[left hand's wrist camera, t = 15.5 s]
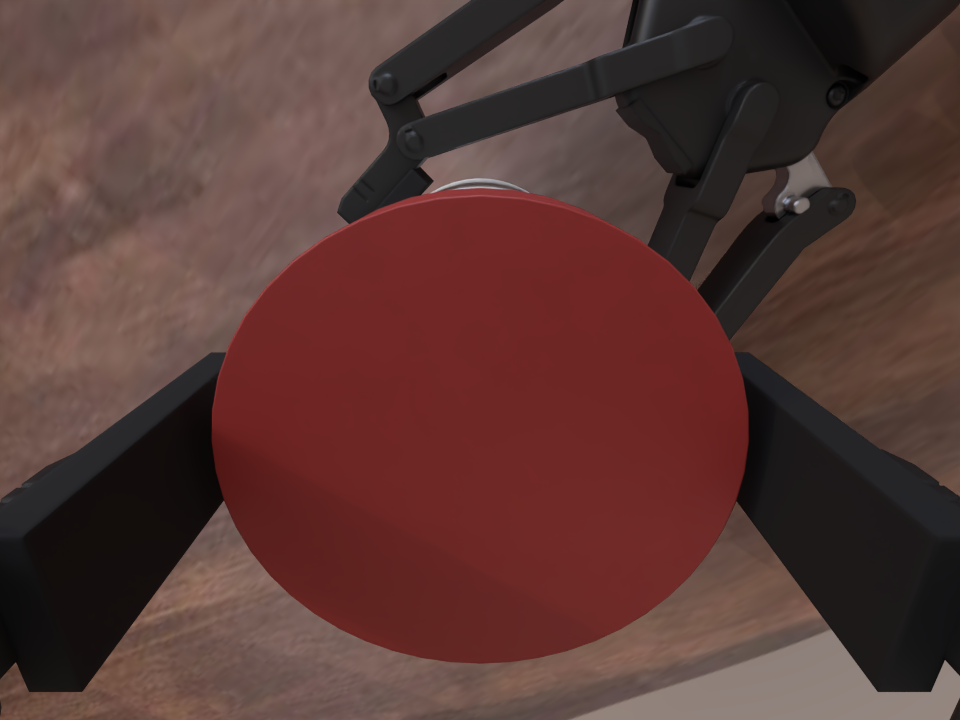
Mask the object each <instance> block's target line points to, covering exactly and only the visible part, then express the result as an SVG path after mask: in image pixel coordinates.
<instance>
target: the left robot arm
mask: <svg viewBox="0 0 960 720" xmlns="http://www.w3.org/2000/svg"><path fill="white" fill-rule="evenodd" d="M225 355H226V353H210V354H209V355H207V356H206V357H205V358H203V359H202V360H200V361H199V362H198V363H196V364H195V365H194V366H192V367H191V368H190V369H188V370H187V371H186V372H184V373H183V374H182V375H180V376H179V377H177V378H176V379H175V380H173V381H172V382H171V383H169V384H168V385H167V386H165V387H164V388H163V389H161V390H160V391H158V392H157V393H156V394H154V395H153V396H152V397H150V398H149V399H148V400H146V401H145V402H144V403H142V404H141V405H140V406H138V407H137V408H135V409H134V410H133V411H131V412H130V413H129V414H127V415H126V416H125V417H123V418H122V419H121V420H119V421H118V422H117V423H115V424H114V425H112V426H111V427H110V428H108V429H107V430H106V431H104V432H103V433H102V434H100V435H99V436H98V437H96V438H95V439H93V440H92V441H91V442H89V443H88V444H87V445H85V446H84V447H83V448H81V449H80V450H79V451H77V452H76V453H74V454H72V455H70V456H68V457H65V458H63V459H61V460H59V461H57V462H55V463H53V464H51V465H48V466H46V467H45V468H44V469H42V470H41V471H39V472H38V473H37V474H35V475H34V476H32V477H31V478H30V479H28V480H27V481H26V482H24V483H23V484H22V487H21V488H16V489H14V490H13V491H12V492H10V493H9V494H7V495H6V496H5V497H3V498H2V499H1V502H0V679H1V678H2V677H3V675H4V674H5V673H6V672H7V671H8V670H9V669H10V668H11V667H12V666H13V664H14V663H15V662H16V663H17V665H18V667H19V670H20V672H21V674H22V677H23V679H24V681H25V684H26V686H27V688H28V690H29V692H82V691H83V690H84V689H85V687H86V686H87V685H88V683H89V682H90V681H91V679H92V678H93V677H94V675H95V674H96V672H97V671H98V670H99V668H100V667H101V666H102V664H103V663H104V662H105V660H106V659H107V658H108V656H109V655H110V654H111V652H112V651H113V649H114V648H115V647H116V645H117V644H118V643H119V641H120V640H121V639H122V637H123V636H124V635H125V633H126V632H127V631H128V629H129V628H130V626H131V625H132V624H133V622H134V621H135V620H136V618H137V617H138V616H139V614H140V613H141V612H142V610H143V609H144V608H145V606H146V605H147V604H148V602H149V601H150V599H151V598H152V597H153V595H154V594H155V593H156V591H157V590H158V589H159V587H160V586H161V585H162V583H163V582H164V581H165V579H166V578H167V576H168V575H169V574H170V572H171V571H172V570H173V568H174V567H175V566H176V564H177V563H178V562H179V560H180V559H181V558H182V556H183V555H184V553H185V552H186V551H187V549H188V548H189V547H190V545H191V544H192V543H193V541H194V540H195V539H196V537H197V536H198V535H199V533H200V532H201V531H202V529H203V528H204V526H205V525H206V524H207V522H208V521H209V520H210V518H211V517H212V516H213V514H214V513H215V512H216V510H217V509H218V508H219V506H220V505H221V503H222V502H223V501H224V498H223V495H222V491H221V488H220V484H219V481H218V477H217V474H216V469H215V462H214V454H213V447H212V408H213V403H214V397H215V391H216V386H217V380H218V376H219V373H220V370H221V367H222V364H223V361H224V358H225ZM735 356H736V359H737V362H738V365H739V368H740V371H741V374H742V377H743V382H744V388H745V393H746V399H747V405H748V420H749V444H748V452H747V459H746V466H745V473H744V476H743V480H742V483H741V487H740V490H739V493H738V497H737V500H736V501H737V502H738V503H739V505H740V506H741V508H742V509H743V510H744V512H745V513H746V514H747V516H748V517H749V518H750V520H751V521H752V522H753V524H754V525H755V526H756V528H757V529H758V531H759V532H760V533H761V535H762V536H763V537H764V539H765V540H766V541H767V543H768V544H769V545H770V547H771V548H772V549H773V551H774V552H775V553H776V555H777V556H778V558H779V559H780V560H781V562H782V563H783V564H784V566H785V567H786V568H787V570H788V571H789V572H790V574H791V575H792V576H793V578H794V579H795V581H796V582H797V583H798V585H799V586H800V587H801V589H802V590H803V591H804V593H805V594H806V595H807V597H808V598H809V599H810V601H811V602H812V604H813V605H814V606H815V608H816V609H817V610H818V612H819V613H820V614H821V616H822V617H823V618H824V620H825V621H826V622H827V624H828V625H829V626H830V628H831V629H832V631H833V632H834V633H835V635H836V636H837V637H838V638H839V640H840V641H841V643H842V644H843V645H844V647H845V648H846V649H847V651H848V652H849V654H850V655H851V656H852V658H853V659H854V660H855V662H856V663H857V664H858V666H859V667H860V668H861V670H862V671H863V672H864V674H865V675H866V676H867V678H868V679H869V680H870V682H871V683H872V685H873V686H874V687H875V689H876V690H877V691H878V692H931V690H932V688H933V686H934V683H935V681H936V679H937V677H938V674H939V672H940V670H941V667H942V665H943V663H944V661H945V660H946V661H947V662H948V663H949V665H950V666H951V667H952V668H953V669H954V670H955V671H956V672H957V673H958V674H959V675H960V497H959V496H958V495H956V494H955V493H953V492H952V491H951V490H949V489H948V488H946V487H945V486H940V485H939V482H938V481H937V480H935V479H934V478H932V477H931V476H930V475H928V474H927V473H925V472H924V471H923V470H921V469H920V468H919V467H917V466H916V465H914V464H912V463H910V462H908V461H906V460H904V459H901V458H899V457H897V456H895V455H893V454H891V453H889V452H887V451H884V450H880V449H879V448H877V447H876V446H875V445H873V444H872V443H871V442H869V441H868V440H867V439H865V438H864V437H862V436H861V435H860V434H858V433H857V432H856V431H854V430H853V429H852V428H850V427H849V426H848V425H846V424H845V423H843V422H842V421H841V420H839V419H838V418H837V417H835V416H834V415H833V414H831V413H830V412H829V411H827V410H826V409H825V408H823V407H822V406H820V405H819V404H818V403H816V402H815V401H814V400H812V399H811V398H810V397H808V396H807V395H806V394H804V393H803V392H802V391H800V390H799V389H797V388H796V387H795V386H793V385H792V384H791V383H789V382H788V381H787V380H785V379H784V378H783V377H781V376H780V375H778V374H777V373H776V372H774V371H773V370H772V369H770V368H769V367H768V366H766V365H765V364H764V363H762V362H761V361H760V360H758V359H757V358H755V357H754V356H753V355H751V354H750V353H735ZM0 714H1V703H0ZM950 720H960V699H959V701H958V703H957V705H956V707H955V710H954V712H953V714H952V716H951V718H950Z"/></svg>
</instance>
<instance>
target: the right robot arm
mask: <svg viewBox="0 0 960 720" xmlns="http://www.w3.org/2000/svg"><path fill="white" fill-rule="evenodd" d="M562 1H563V0H471V1H470V2H468V3H467V4H465V5H464V6H462V7H461V8H460V9H458V10H457V11H455V12H454V13H453V14H451V15H450V16H448V17H447V18H445V19H444V20H443V21H441V22H440V23H438V24H437V25H435V26H434V27H433V28H431V29H430V30H428V31H427V32H426V33H424V34H423V35H421V36H420V37H418V38H417V39H416V40H414V41H413V42H411V43H410V44H409V45H407V46H406V47H404V48H403V49H401V50H400V51H399V52H397V53H396V54H394V55H393V56H392V57H390V58H389V59H387V60H386V61H384V62H383V63H382V64H380V65H379V66H377V67H376V68H375V69H374V70H373V71H372V72H371V75H370V78H369V89H370V92H371V95H372V96H373V97H374V98H375V100H376V101H377V103H378V105H379V107H380V109H381V111H382V113H383V115H384V118H385V120H386V122H387V124H388V127H389V141H388V143H387V146H386V147H385V149H384V150H383V151H382V153H381V154H380V155H379V156H378V157H377V158H376V159H375V161H374V162H373V163H372V164H371V165H370V166H369V168H368V169H367V170H366V171H365V172H364V173H363V174H362V176H361V177H360V178H359V179H358V180H357V181H356V182H355V184H354V185H353V186H352V187H351V188H350V189H349V191H348V192H347V193H346V194H345V195H344V196H343V197H342V199H341V202H340V205H339V208H338V211H337V213H338V214H339V215H340V216H341V217H342V218H344V219H345V220H346V221H347V222H348V223H349V224H351V223H353V222H355V221H357V220H359V219H360V218H362V217H364V216H366V215H368V214H370V213H372V212H374V211H376V210H378V209H380V208H383V207H385V206H388V205H391V204H394V203H397V202H399V201H402V200H405V199H408V198H411V197H415V196H420V195H421V194H422V193H423V192H424V191H425V190H426V189H427V188H428V187H429V186H430V185H431V184H432V183H433V180H432V179H431V178H430V177H429V176H428V175H427V173H426V172H425V171H424V170H423V169H422V168H421V167H420V166H421V165H422V164H423V163H424V162H425V161H426V160H427V159H428V158H430V157H433V156H436V155H439V154H442V153H445V152H448V151H451V150H454V149H457V148H460V147H463V146H466V145H469V144H472V143H475V142H478V141H481V140H484V139H487V138H490V137H493V136H496V135H499V134H502V133H505V132H508V131H511V130H514V129H517V128H520V127H523V126H526V125H529V124H532V123H535V122H538V121H541V120H544V119H547V118H550V117H553V116H556V115H559V114H562V113H565V112H568V111H571V110H574V109H577V108H580V107H584V106H587V105H590V104H593V103H596V102H599V101H602V100H605V99H608V98H611V97H614V96H615V98H616V102H617V105H618V107H619V108H618V109H617V110H616V112H617V113H618V114H619V115H620V117H621V118H622V119H623V120H624V121H625V123H626V124H627V125H628V126H629V127H630V128H632V129H633V130H635V131H636V132H638V133H639V134H641V135H642V136H644V137H645V138H646V139H647V141H648V144H649V146H650V148H651V151H652V153H653V155H654V158H655V159H656V160H657V161H658V163H659V164H660V165H661V166H662V167H663V169H664V170H665V171H666V172H667V173H673V176H672V178H671V180H670V183H669V185H668V188H667V190H666V193H665V196H664V207H663V210H662V213H661V215H660V218H659V220H658V222H657V225H656V227H655V230H654V232H653V234H652V237H651V239H650V242H649V244H648V247H650V248H651V249H653V250H654V251H655V252H657V253H658V254H659V255H661V256H662V257H663V258H665V259H666V260H668V261H669V262H670V263H671V264H672V265H673V266H674V267H675V268H676V269H677V270H678V271H679V272H680V273H681V274H682V275H683V276H684V277H685V278H686V279H687V280H688V281H690V279H691V277H692V275H693V272H694V270H695V268H696V266H697V264H698V261H699V259H700V257H701V255H702V253H703V251H704V248H705V246H706V244H707V242H708V240H709V237H710V235H711V233H712V231H713V229H714V227H715V225H716V223H717V222H718V221H719V220H721V219H722V218H723V217H724V216H725V215H726V213H727V212H728V210H729V208H730V206H731V204H732V202H733V199H734V197H735V195H736V193H737V191H738V189H739V186H740V184H741V182H742V180H743V178H744V176H745V174H747V173H753V172H759V171H765V170H771V169H775V170H776V181H775V184H774V186H773V187H772V188H771V190H770V191H769V192H768V193H767V194H766V195H765V196H764V197H763V199H762V205H763V209H764V210H763V211H762V212H761V213H760V214H758V215H757V216H756V217H755V218H754V219H753V220H752V221H751V222H750V223H749V224H748V225H747V226H746V227H745V229H744V230H743V231H742V232H741V233H740V235H739V236H738V237H737V239H736V240H735V241H734V243H733V244H732V245H731V247H730V248H729V249H728V250H727V252H726V253H725V254H724V256H723V257H722V258H721V260H720V261H719V262H718V264H717V265H716V266H715V268H714V269H713V270H712V272H711V273H710V274H709V276H708V277H707V278H706V279H705V281H704V282H703V283H702V285H701V286H700V287H699V289H698V290H697V291H698V292H699V294H700V295H701V296H702V298H703V299H704V300H705V302H706V303H707V304H708V306H709V307H710V308H711V310H712V311H713V312H714V314H715V315H716V317H717V319H718V320H719V322H720V324H721V326H722V328H723V330H724V332H725V334H726V336H727V338H728V340H730V339H731V338H732V337H733V335H734V334H735V333H736V332H737V330H738V329H739V328H740V327H741V325H742V324H743V323H744V322H745V320H746V319H747V318H748V317H749V316H750V314H751V313H752V312H753V311H754V309H755V308H756V307H757V306H758V304H759V303H760V302H761V301H762V299H763V298H764V297H765V296H766V295H767V293H768V292H769V291H770V290H771V288H772V287H773V286H774V285H775V283H776V282H777V281H778V280H779V278H780V277H781V276H782V275H783V274H784V272H785V271H786V270H787V269H788V267H789V266H790V265H791V264H792V262H793V261H794V260H795V259H796V257H797V256H798V255H799V254H800V253H801V251H802V250H803V249H804V248H805V247H807V246H808V245H810V244H811V243H812V242H814V241H815V240H817V239H818V238H820V237H821V236H822V235H824V234H825V233H827V232H828V231H830V230H831V229H832V228H834V227H835V226H837V225H838V224H840V223H841V222H842V221H844V220H845V219H847V218H848V217H849V216H850V215H851V214H852V212H853V210H854V208H855V204H856V199H855V195H854V194H853V192H852V191H851V190H849V189H846V188H838V187H833V186H832V185H831V184H830V182H829V180H828V178H827V176H826V174H825V173H824V171H823V169H822V167H821V165H820V164H819V162H818V160H817V158H816V156H815V154H814V153H813V150H814V148H815V147H816V145H817V144H818V142H819V140H820V137H821V135H822V133H823V131H824V129H825V127H826V126H827V124H828V123H829V121H830V120H831V118H832V117H833V116H834V115H835V113H836V112H837V111H838V110H840V109H841V108H842V107H843V106H844V105H846V104H847V103H848V102H850V101H851V100H852V99H853V98H855V97H856V96H857V95H858V94H860V93H861V92H862V91H863V90H865V89H866V88H867V87H868V86H869V85H870V84H872V83H873V82H874V81H875V80H876V79H877V78H878V77H879V76H881V75H882V74H883V73H884V72H885V71H886V70H887V69H888V68H890V67H891V66H892V65H893V64H894V63H895V62H896V61H898V60H899V59H900V58H901V57H902V56H903V55H904V54H905V53H907V52H908V51H909V50H910V49H911V48H912V47H913V46H914V45H916V44H917V43H918V42H919V41H920V40H921V39H922V38H923V37H925V36H926V35H927V34H928V33H929V32H930V31H931V30H933V29H934V28H935V27H936V26H937V25H938V24H939V23H940V22H942V21H943V20H944V19H945V18H946V17H947V16H948V15H949V14H950V13H951V12H952V11H953V10H954V9H955V8H956V7H957V6H958V5H959V4H960V0H633V2H632V7H631V11H630V16H629V20H628V25H627V29H626V34H625V38H624V43H623V47H622V49H619V50H616V51H613V52H610V53H607V54H604V55H602V56H599V57H596V58H594V59H592V60H590V61H587V62H585V63H582V64H579V65H577V66H574V67H571V68H568V69H565V70H562V71H559V72H556V73H553V74H550V75H547V76H544V77H541V78H539V79H536V80H533V81H530V82H527V83H524V84H521V85H518V86H515V87H512V88H509V89H506V90H503V91H500V92H498V93H495V94H492V95H489V96H486V97H483V98H480V99H477V100H474V101H471V102H468V103H465V104H462V105H460V106H457V107H454V108H451V109H448V110H445V111H442V112H439V113H436V114H433V115H430V116H427V117H425V115H424V113H423V111H422V109H421V107H420V104H419V102H418V100H419V99H420V98H422V97H423V96H425V95H426V94H428V93H429V92H431V91H432V90H433V89H435V88H436V87H438V86H439V85H441V84H442V83H444V82H445V81H447V80H448V79H450V78H451V77H453V76H454V75H456V74H457V73H458V72H460V71H461V70H463V69H464V68H466V67H467V66H469V65H470V64H472V63H473V62H475V61H476V60H478V59H479V58H481V57H482V56H484V55H485V54H486V53H488V52H489V51H491V50H492V49H494V48H495V47H497V46H498V45H500V44H501V43H503V42H504V41H506V40H507V39H509V38H510V37H511V36H513V35H514V34H516V33H517V32H519V31H520V30H522V29H523V28H525V27H526V26H528V25H529V24H531V23H532V22H534V21H535V20H537V19H538V18H539V17H541V16H542V15H544V14H545V13H547V12H548V11H550V10H551V9H553V8H554V7H556V6H557V5H558V4H560V3H561V2H562Z"/></svg>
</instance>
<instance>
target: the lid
mask: <svg viewBox="0 0 960 720" xmlns="http://www.w3.org/2000/svg"><path fill="white" fill-rule="evenodd" d="M748 444H749V420H748V405H747V399H746V393H745V388H744V382H743V377H742V374H741V371H740V368H739V365H738V362H737V359H736V356H735V353H734V350H733V348H732V345H731V343H730V341H729V340H728V338H727V336H726V334H725V332H724V330H723V328H722V326H721V324H720V322H719V320H718V319H717V317H716V315H715V314H714V312H713V311H712V310H711V308H710V307H709V306H708V304H707V303H706V302H705V300H704V299H703V298H702V296H701V295H700V294H699V292H698V291H697V290H696V288H695V287H694V286H693V285H692V284H691V283H690V282H689V281H688V280H687V279H686V278H685V277H684V276H683V275H682V274H681V273H680V272H679V271H678V270H677V269H676V268H675V267H674V266H673V265H672V264H671V263H670V262H669V261H668V260H666V259H665V258H663V257H662V256H661V255H659V254H658V253H657V252H655V251H654V250H653V249H651V248H650V247H648V246H647V245H646V244H644V243H643V242H642V241H640V240H639V239H638V238H636V237H634V236H632V235H630V234H628V233H626V232H625V231H623V230H621V229H619V228H617V227H615V226H613V225H611V224H610V223H608V222H606V221H604V220H602V219H600V218H598V217H596V216H594V215H593V214H591V213H589V212H587V211H585V210H583V209H581V208H578V207H575V206H572V205H570V204H567V203H564V202H561V201H558V200H556V199H553V198H550V197H545V196H541V195H536V194H531V193H526V192H522V191H517V190H504V189H490V188H471V189H456V190H444V191H439V192H434V193H430V194H425V195H420V196H415V197H411V198H408V199H405V200H402V201H399V202H397V203H394V204H391V205H388V206H385V207H383V208H380V209H378V210H376V211H374V212H372V213H370V214H368V215H366V216H364V217H362V218H360V219H359V220H357V221H355V222H353V223H351V224H349V225H347V226H345V227H343V228H342V229H340V230H338V231H336V232H334V233H332V234H330V235H329V236H327V237H325V238H323V239H322V240H321V241H319V242H318V243H316V244H315V245H314V246H312V247H311V248H310V249H308V250H307V251H305V252H304V253H303V254H301V255H300V256H299V257H297V258H296V259H294V260H293V261H292V262H291V263H290V264H289V265H288V266H287V267H286V268H285V269H284V270H283V271H282V272H281V273H280V274H279V275H278V276H277V277H276V278H275V279H274V280H273V281H272V282H271V283H270V284H269V285H268V286H267V287H266V288H265V289H264V291H263V292H262V293H261V295H260V296H259V297H258V299H257V300H256V301H255V303H254V304H253V305H252V307H251V308H250V309H249V311H248V312H247V313H246V315H245V316H244V318H243V320H242V322H241V324H240V326H239V328H238V329H237V331H236V333H235V335H234V337H233V339H232V341H231V343H230V344H229V347H228V350H227V353H226V355H225V358H224V361H223V364H222V367H221V370H220V373H219V376H218V380H217V386H216V391H215V397H214V403H213V408H212V447H213V454H214V462H215V469H216V474H217V477H218V481H219V484H220V488H221V491H222V495H223V498H224V501H225V504H226V506H227V508H228V510H229V513H230V515H231V517H232V519H233V522H234V524H235V526H236V528H237V530H238V531H239V533H240V534H241V536H242V538H243V539H244V541H245V543H246V544H247V546H248V547H249V549H250V551H251V552H252V554H253V555H254V556H255V557H256V559H257V560H258V561H259V562H260V564H261V565H262V566H263V567H264V568H265V570H266V571H267V572H268V573H269V575H270V576H271V577H272V578H273V579H274V580H275V581H276V582H277V583H278V584H280V585H281V586H282V587H283V588H284V589H285V590H286V591H287V592H288V593H289V594H290V595H291V596H292V597H293V598H295V599H296V600H297V601H299V602H300V603H301V604H303V605H304V606H305V607H306V608H308V609H309V610H310V611H312V612H313V613H314V614H316V615H318V616H319V617H321V618H322V619H324V620H326V621H327V622H329V623H331V624H332V625H334V626H336V627H337V628H339V629H341V630H343V631H345V632H347V633H349V634H352V635H354V636H356V637H358V638H360V639H362V640H364V641H367V642H370V643H372V644H375V645H378V646H381V647H384V648H387V649H389V650H392V651H396V652H400V653H404V654H408V655H412V656H416V657H420V658H426V659H433V660H440V661H447V662H460V663H501V662H513V661H520V660H527V659H534V658H540V657H544V656H548V655H552V654H557V653H561V652H565V651H568V650H571V649H574V648H577V647H580V646H583V645H585V644H588V643H591V642H594V641H596V640H598V639H600V638H603V637H605V636H607V635H609V634H611V633H613V632H615V631H618V630H620V629H622V628H623V627H625V626H627V625H628V624H630V623H631V622H633V621H635V620H636V619H638V618H640V617H641V616H643V615H645V614H646V613H648V612H649V611H650V610H652V609H653V608H654V607H655V606H657V605H658V604H659V603H661V602H662V601H663V600H665V599H666V598H667V597H669V596H670V595H671V594H672V593H673V592H674V591H675V590H676V589H677V588H678V587H679V586H680V585H681V584H682V583H683V582H684V581H685V580H686V579H687V578H688V577H689V576H690V575H691V574H692V573H693V572H694V570H695V569H696V568H697V567H698V565H699V564H700V563H701V562H702V561H703V559H704V558H705V557H706V556H707V554H708V553H709V552H710V550H711V548H712V547H713V545H714V544H715V542H716V540H717V539H718V537H719V536H720V534H721V532H722V531H723V529H724V527H725V525H726V523H727V521H728V518H729V516H730V514H731V512H732V509H733V507H734V505H735V503H736V500H737V497H738V493H739V490H740V487H741V483H742V480H743V476H744V473H745V466H746V459H747V452H748Z"/></svg>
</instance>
